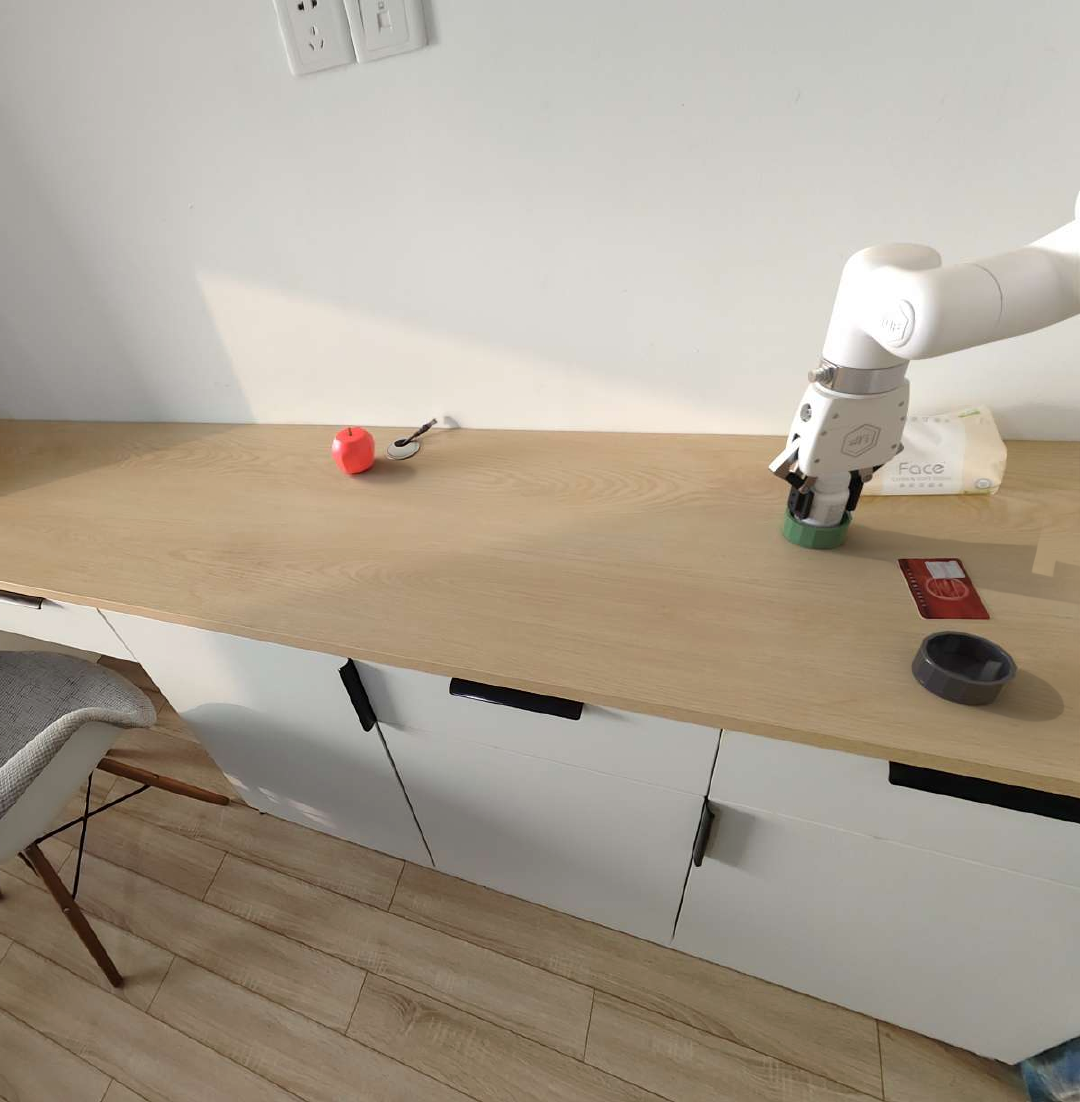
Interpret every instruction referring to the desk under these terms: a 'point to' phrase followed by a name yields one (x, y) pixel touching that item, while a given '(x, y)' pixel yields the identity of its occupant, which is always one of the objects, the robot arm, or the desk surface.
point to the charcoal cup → (963, 668)
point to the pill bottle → (828, 501)
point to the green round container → (815, 532)
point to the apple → (353, 450)
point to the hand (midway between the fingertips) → (820, 508)
